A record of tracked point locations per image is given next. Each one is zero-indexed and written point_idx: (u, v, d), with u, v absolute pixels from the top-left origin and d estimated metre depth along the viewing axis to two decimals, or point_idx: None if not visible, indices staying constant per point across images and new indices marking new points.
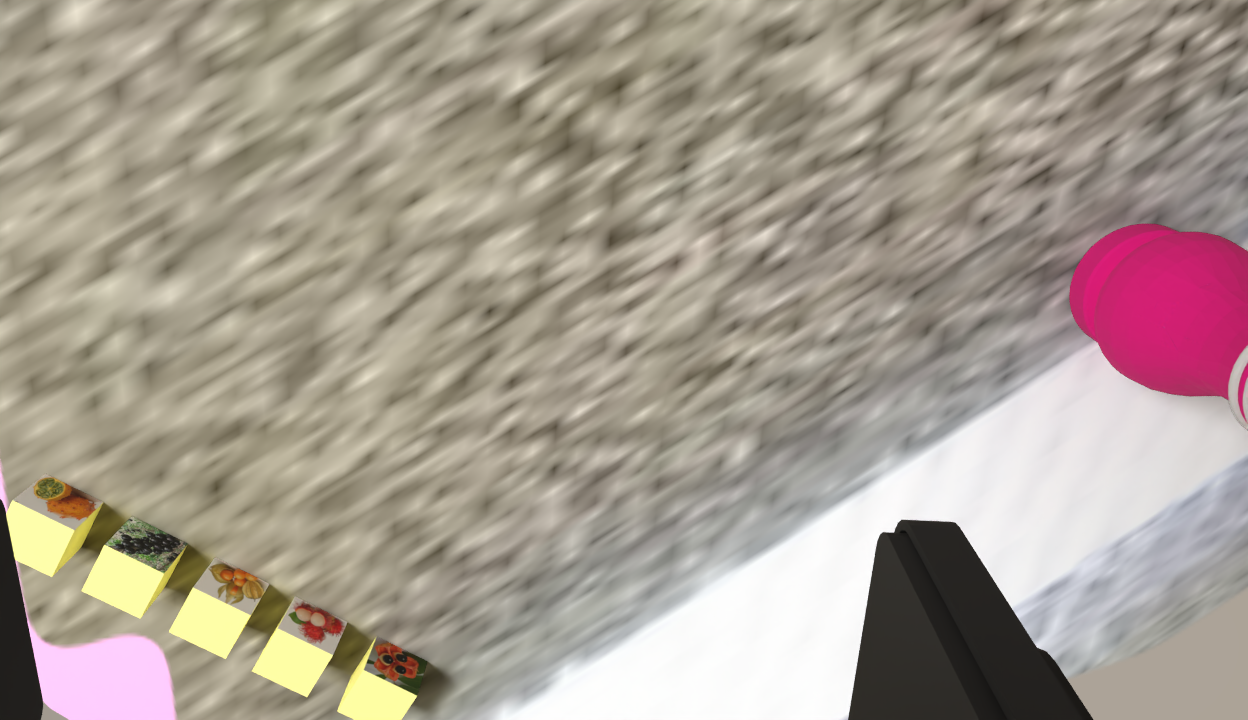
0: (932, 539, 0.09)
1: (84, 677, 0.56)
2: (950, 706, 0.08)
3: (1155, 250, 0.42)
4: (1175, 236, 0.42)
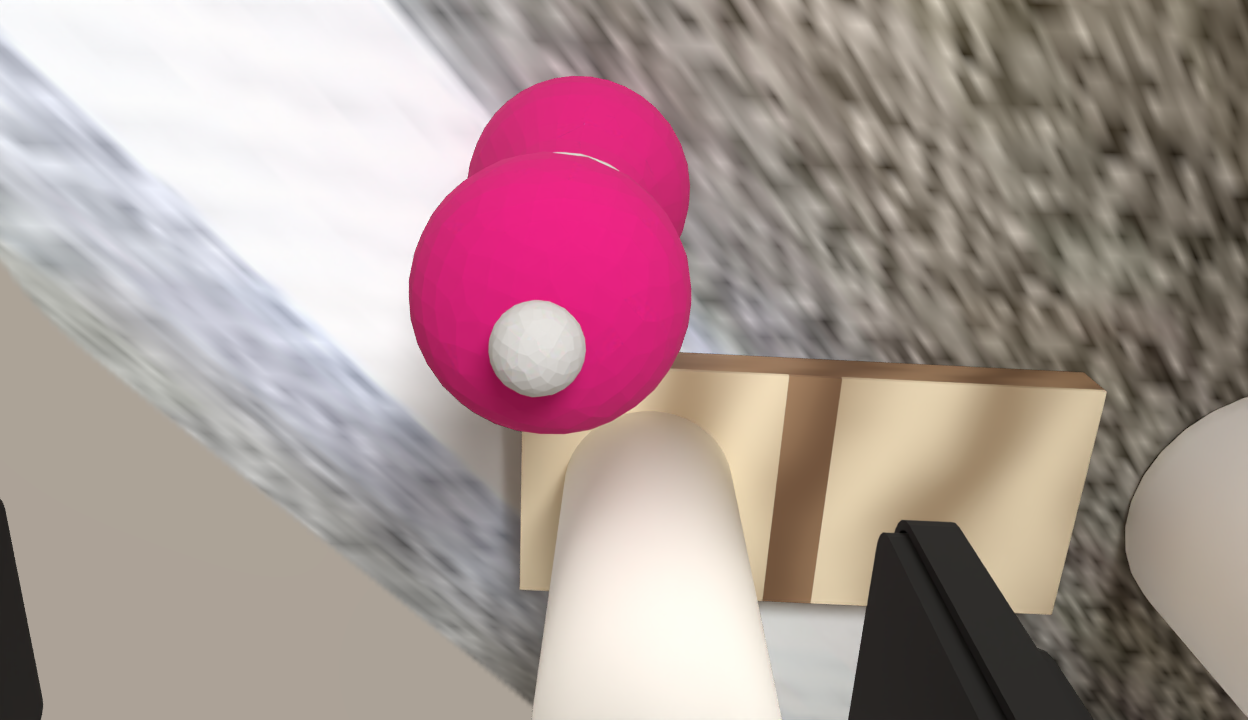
0: (931, 539, 0.09)
1: None
2: (949, 706, 0.08)
3: (670, 129, 0.30)
4: (685, 160, 0.31)
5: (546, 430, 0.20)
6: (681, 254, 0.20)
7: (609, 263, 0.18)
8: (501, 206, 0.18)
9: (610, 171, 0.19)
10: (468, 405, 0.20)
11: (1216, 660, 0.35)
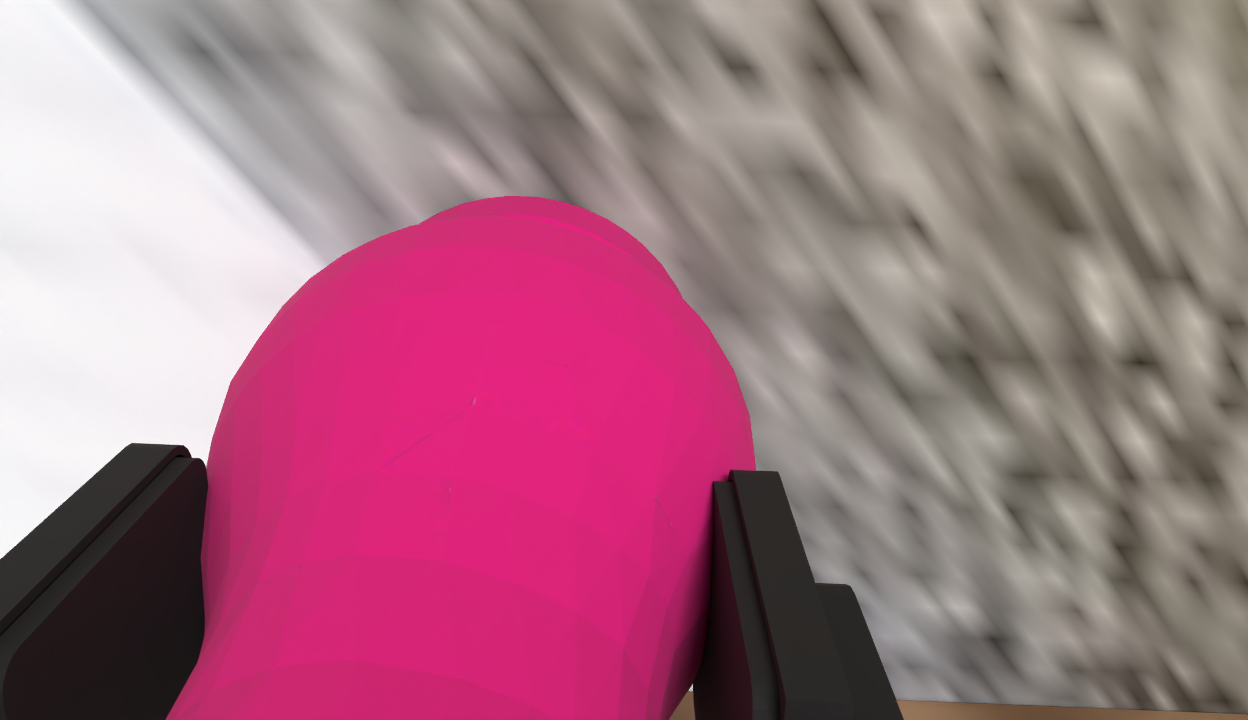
0: (749, 485, 0.10)
1: None
2: (732, 625, 0.09)
3: (712, 352, 0.12)
4: (747, 411, 0.13)
5: None
6: None
7: None
8: None
9: None
10: None
11: None
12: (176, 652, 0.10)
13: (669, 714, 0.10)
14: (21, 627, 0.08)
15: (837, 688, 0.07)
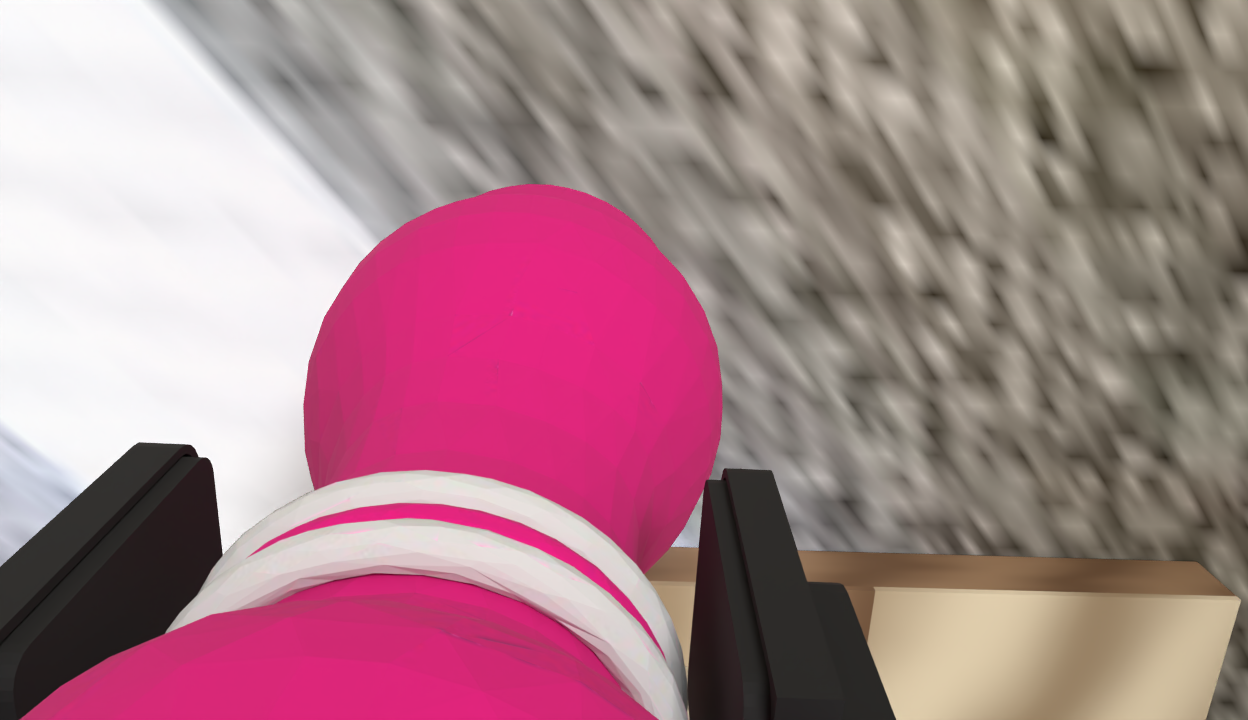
0: (743, 484, 0.10)
1: None
2: (724, 623, 0.09)
3: (686, 293, 0.16)
4: (714, 342, 0.17)
5: None
6: None
7: None
8: None
9: None
10: None
11: None
12: None
13: (652, 540, 0.14)
14: (31, 626, 0.08)
15: (828, 685, 0.07)
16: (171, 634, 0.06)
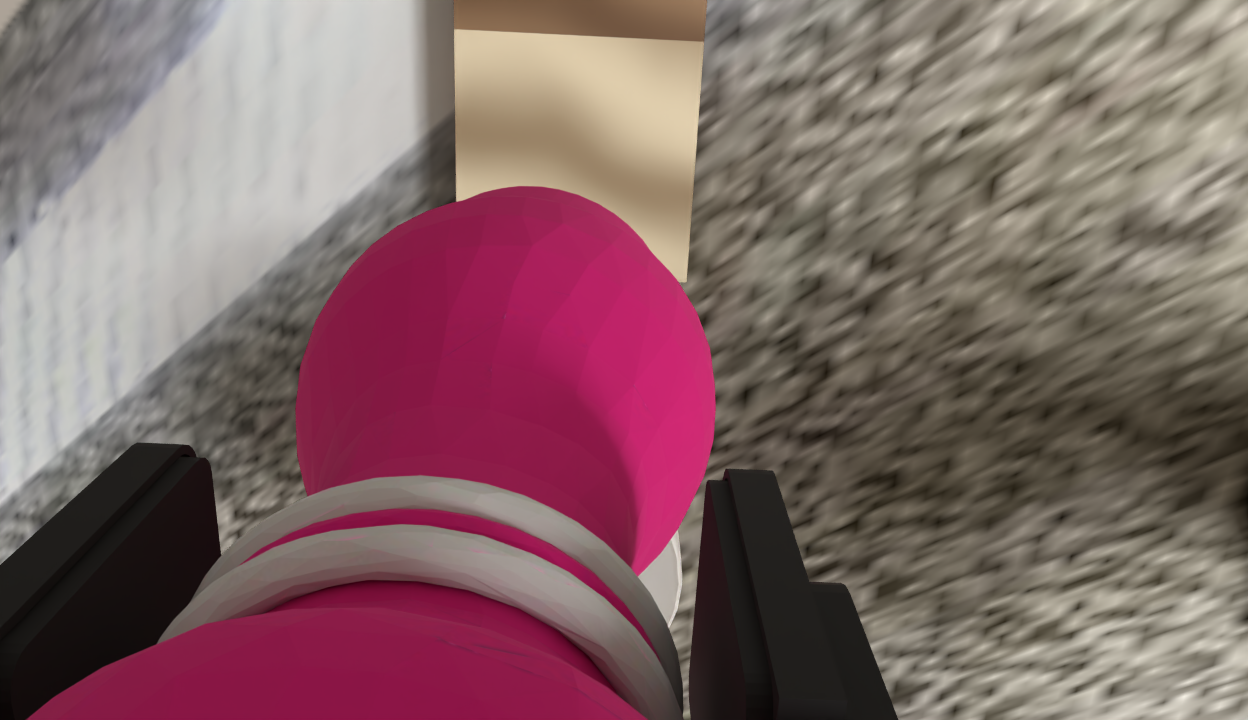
0: (745, 484, 0.10)
1: None
2: (726, 623, 0.09)
3: (678, 294, 0.16)
4: (707, 344, 0.17)
5: None
6: None
7: None
8: None
9: None
10: None
11: None
12: None
13: (646, 543, 0.14)
14: (29, 626, 0.08)
15: (830, 686, 0.07)
16: (165, 644, 0.06)
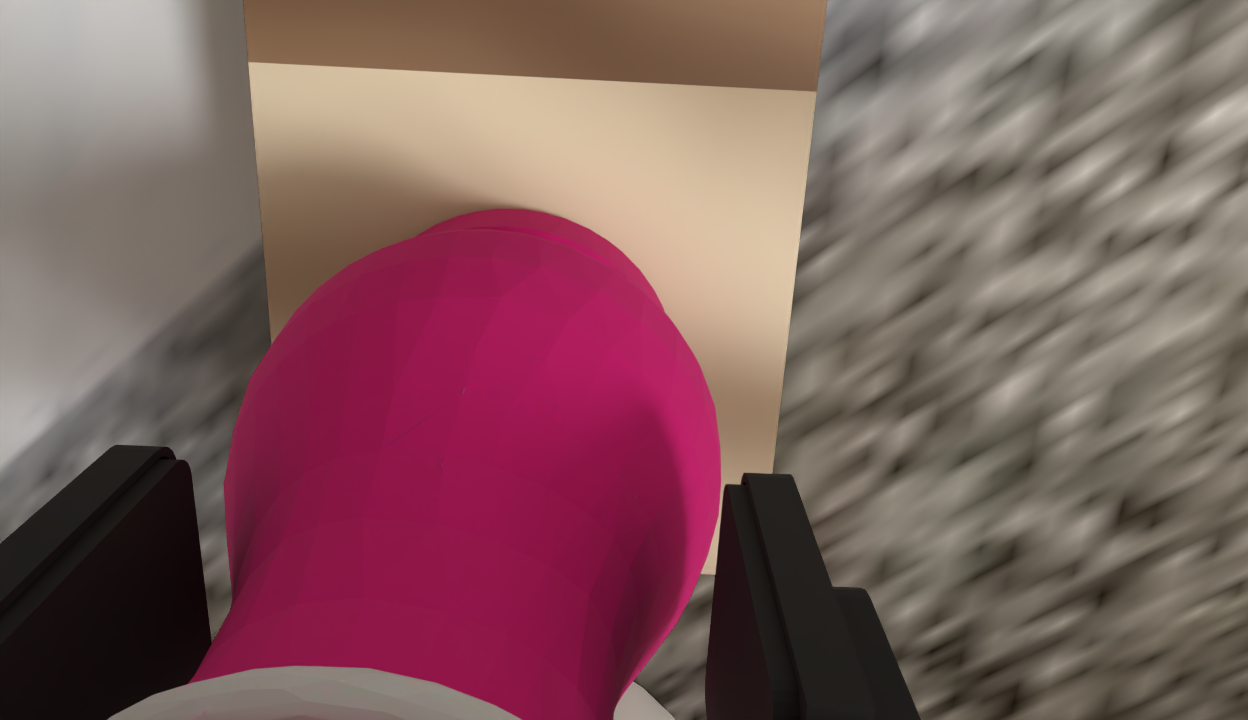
0: (764, 488, 0.10)
1: None
2: (749, 629, 0.09)
3: (678, 348, 0.14)
4: (712, 402, 0.14)
5: None
6: None
7: None
8: None
9: None
10: None
11: None
12: (160, 655, 0.10)
13: (636, 662, 0.11)
14: None
15: (859, 693, 0.07)
16: None
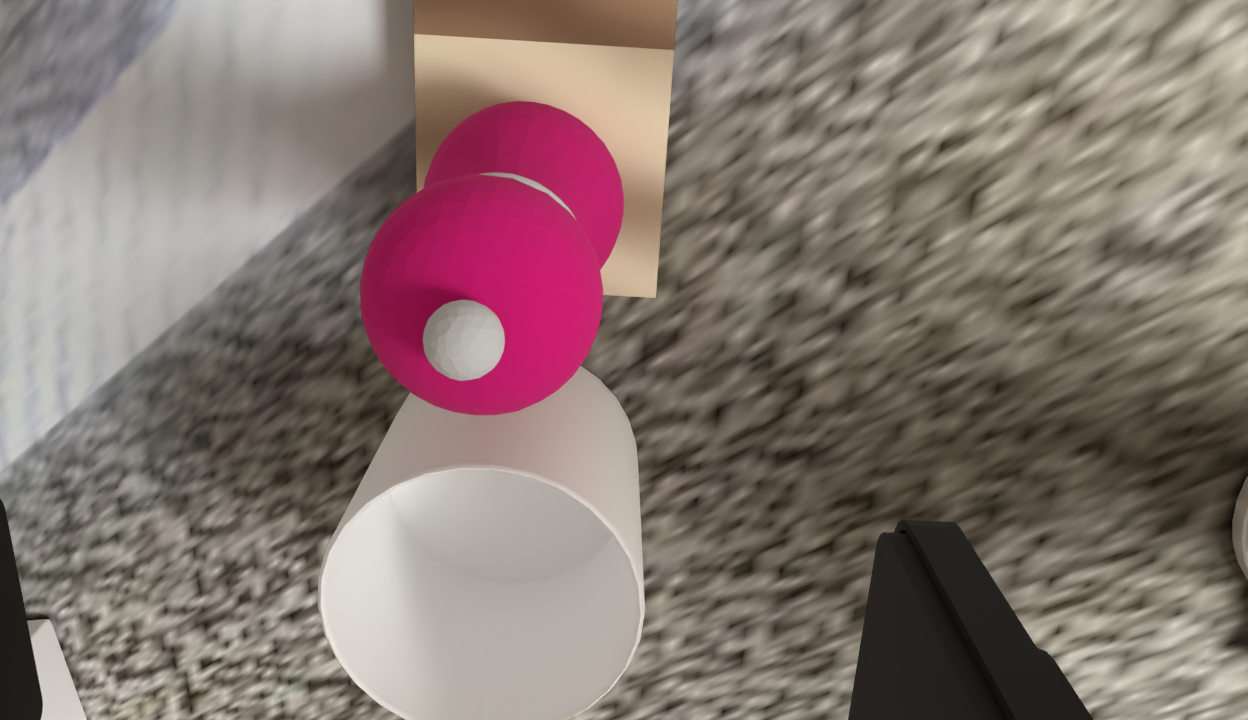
0: (932, 539, 0.09)
1: None
2: (950, 706, 0.08)
3: (604, 148, 0.34)
4: (619, 176, 0.35)
5: (478, 411, 0.23)
6: (591, 260, 0.23)
7: (526, 268, 0.22)
8: (435, 222, 0.22)
9: (530, 190, 0.23)
10: (411, 390, 0.23)
11: (440, 412, 0.37)
12: None
13: None
14: None
15: None
16: (443, 180, 0.24)
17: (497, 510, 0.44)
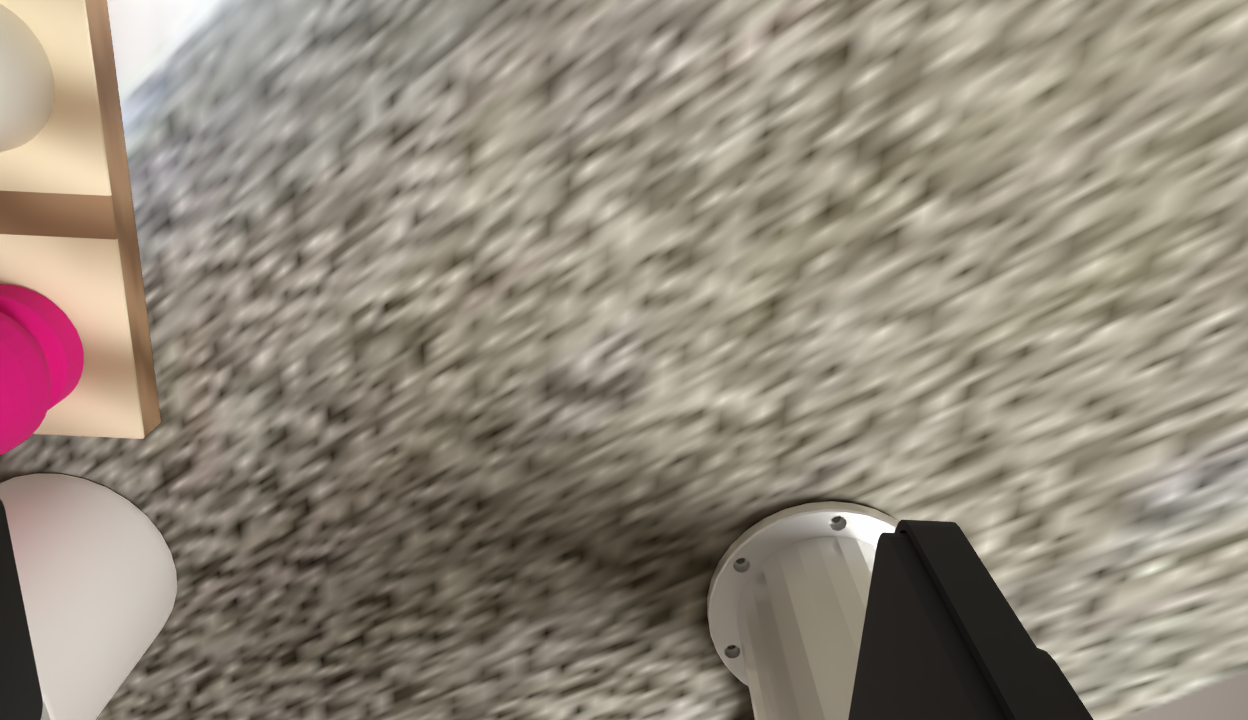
0: (932, 539, 0.09)
1: None
2: (950, 706, 0.08)
3: (9, 338, 0.40)
4: (34, 357, 0.41)
5: None
6: None
7: None
8: None
9: None
10: None
11: None
12: None
13: None
14: None
15: None
16: None
17: None
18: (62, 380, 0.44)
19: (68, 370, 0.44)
